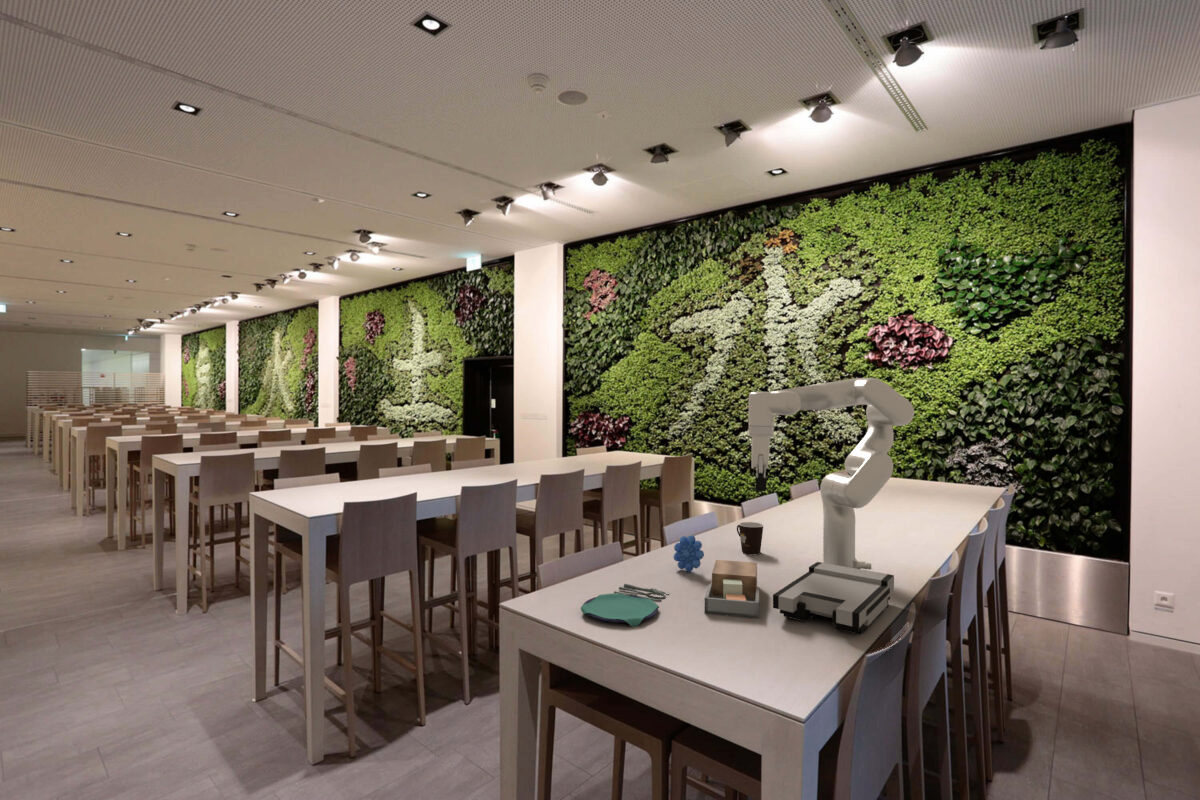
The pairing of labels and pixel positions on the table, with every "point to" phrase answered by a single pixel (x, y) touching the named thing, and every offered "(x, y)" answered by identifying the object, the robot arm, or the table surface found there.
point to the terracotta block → (735, 597)
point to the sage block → (732, 587)
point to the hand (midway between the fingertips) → (760, 490)
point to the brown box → (735, 576)
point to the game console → (837, 596)
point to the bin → (731, 605)
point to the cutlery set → (623, 606)
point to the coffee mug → (750, 537)
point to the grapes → (688, 553)
